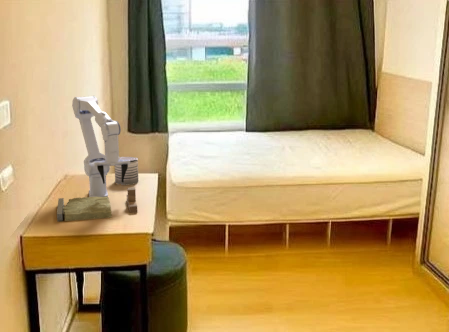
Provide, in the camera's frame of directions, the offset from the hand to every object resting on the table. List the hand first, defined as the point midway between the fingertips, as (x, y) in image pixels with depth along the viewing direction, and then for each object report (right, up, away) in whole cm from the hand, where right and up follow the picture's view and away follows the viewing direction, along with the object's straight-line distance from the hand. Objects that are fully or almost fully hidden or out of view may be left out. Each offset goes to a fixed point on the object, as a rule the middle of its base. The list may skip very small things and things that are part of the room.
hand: (113, 182), depth 233 cm
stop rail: (-19, -12, -9) cm, 24 cm away
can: (0, -1, +34) cm, 34 cm away
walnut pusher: (+8, -10, -1) cm, 13 cm away
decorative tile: (-9, -12, -7) cm, 17 cm away
